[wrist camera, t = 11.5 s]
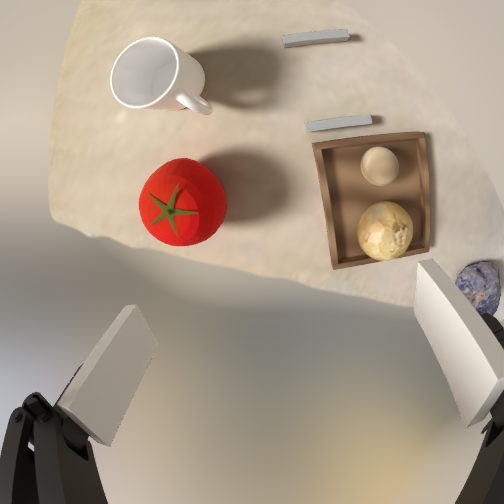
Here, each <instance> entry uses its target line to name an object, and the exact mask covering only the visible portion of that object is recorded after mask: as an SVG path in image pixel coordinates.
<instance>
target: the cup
mask: <svg viewBox="0 0 504 504" xmlns="http://www.w3.org/2000/svg"><path fill="white" fill-rule="evenodd" d="M204 84H205V74H204V71H203V68H202V66H201V65H200V64H199V62H198V61H197V60H195V59H194V58H193V57H191V56H190V55H188V54H187V53H186V52H184V51H183V50H181V49H180V48H178V47H177V46H175V45H174V44H172V43H171V42H169V41H167V40H166V39H163V38H160V37H147V38H143V39H140V40H137V41H135V42H134V43H132V44H130V45H129V46H128V47H127V48H125V49H124V50H123V51H122V53H121V54H120V55H119V56H118V58H117V60H116V61H115V63H114V66H113V68H112V72H111V89H112V92H113V94H114V96H115V97H116V99H117V100H118V101H119V102H120V103H121V104H123V105H125V106H127V107H130V108H138V109H153V110H165V111H176V110H181V109H184V108H186V107H188V108H190V109H191V110H193V111H196V112H198V113H200V114H204V115H209V114H211V113H212V111H213V109H212V107H211V105H210V104H209V103H208V102H207V101H206V100H204V99H203V98H202V97H201V96H200V94H201V92H202V90H203V88H204Z"/></svg>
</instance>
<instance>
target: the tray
mask: <svg viewBox="0 0 504 504" xmlns="http://www.w3.org/2000/svg"><path fill="white" fill-rule="evenodd" d="M312 146H313V151H314V156H315V161H316V166H317V171H318V177H319V182H320V188H321V194H322V200H323V206H324V212H325V219H326V226H327V233H328V240H329V248H330V256H331V264H332V267H333V270H336V269H342V268H347V267H353V266H358V265H364V264H369V263H375V262H380V261H381V260H377V259H374V258H371V257H370V256H368V255H367V254H366V253H365V252H364V251H363V250H362V248H361V246H360V244H359V241H358V235H357V230H358V225H359V221H360V219H361V216H362V215H363V213H364V212H365V211H366V210H367V209H368V208H369V207H370V206H371V205H373V204H376V203H378V202H382V201H388V202H394V203H396V204H398V205H400V206H401V207H402V208H404V209H405V210H406V212H407V213H408V215H409V216H410V218H411V220H412V223H413V236H412V240H411V242H410V244H409V246H408V248H407V249H406V251H405V252H404V253H403V254H402V255H400V256H399V257H397V258H401V257H406V256H411V255H416V254H421V253H426V252H429V247H430V187H429V171H428V160H427V150H426V142H425V134H424V132H404V133H391V134H380V135H370V136H360V137H352V138H344V139H337V140H330V141H323V142H317V143H312ZM373 147H384V148H387V149H389V150H390V151H391V152H392V153H393V154H394V155H395V156H396V158H397V160H398V163H399V172H398V175H397V177H396V179H395V180H394V181H393V182H392V183H391V184H389V185H386V186H376V185H374V184H372V183H370V182H369V181H368V180H366V178H365V177H364V176H363V173H362V171H361V159H362V157H363V155H364V153H365V152H366V151H367V150H369V149H370V148H373ZM395 259H396V258H395Z"/></svg>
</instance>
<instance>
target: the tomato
mask: <svg viewBox="0 0 504 504" xmlns="http://www.w3.org/2000/svg"><path fill="white" fill-rule="evenodd" d="M226 207H227V203H226V195H225V191H224V189H223V187H222V184H221V183H220V181H219V180H218V178H217V177H216V176H215V175H214V174H213V173H212V172H211V171H210V170H209V169H208V168H207V167H205V166H204V165H202V164H201V163H199V162H197V161H195V160H191V159H188V158H180V159H174V160H172V161H169V162H167V163H165V164H164V165H162V166H161V167H160V168H158V169H157V170H156V171H155V172H154V173H153V174H152V175H151V176H150V177H149V179H148V180H147V182H146V183H145V185H144V187H143V189H142V191H141V194H140V198H139V210H140V215H141V218H142V221H143V223H144V225H145V227H146V228H147V230H148V231H149V232H150V233H151V234H152V235H153V236H154V237H155V238H157V239H158V240H160V241H162V242H163V243H165V244H169V245H172V246H189V245H194V244H197V243H200V242H203V241H205V240H207V239H208V238H210V237H211V236H212V235H213V234H214V233H215V232H216V231H217V229H218V228H219V227H220V225H221V224H222V222H223V220H224V217H225V213H226Z"/></svg>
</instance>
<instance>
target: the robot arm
mask: <svg viewBox="0 0 504 504" xmlns="http://www.w3.org/2000/svg"><path fill="white" fill-rule="evenodd" d="M414 314H415V316H416V318H417V320H418V322H419V323H420V325H421V327H422V329H423V331H424V333H425V335H426V336H427V339H428V341H429V342H430V345H431V347H432V349H433V351H434V353H435V355H436V357H437V359H438V361H439V363H440V365H441V368H442V370H443V372H444V374H445V377H446V379H447V381H448V383H449V386H450V388H451V391H452V393H453V395H454V398H455V400H456V403H457V406H458V408H459V411H460V413H461V416H462V419H463V422H464V424H465V427H466V428H468V427H470V426H472V425H474V424H476V423H478V422H480V421H482V420H483V419H484V418H485V417H486V415H487V414H488V413H489V411H490V413H491V415H492V418H491V420H490V421H489V422H488V424H487V425H486V426H485V427H484V428H483V430H482V432H481V433H482V434H483V433H484V432H485V431H486V430H487V432H486V435H485V438H484V440H483V443H482V446H481V449H480V451H479V454H478V456H477V459H476V461H475V464H474V466H473V468H472V471H471V473H470V475H469V477H468V479H467V481H466V483H465V485H464V487H463V489H462V491H461V493H460V495H459V497H458V498H457V500H456V502H455V504H504V328H503V327H502V325H501V324H500V323H499V321H498V320H497V319H496V318H495V317H493V316H492V315H490V314H489V313H487V312H486V313H483V314H480V315H479V313H478V312H477V311H476V309H475V308H474V307H473V306H472V304H471V303H470V302H469V300H468V299H467V298H466V297H465V295H464V294H463V293H462V292H461V291H460V289H459V288H458V287H457V286H456V284H455V283H454V282H453V281H452V280H451V279H450V277H449V276H448V275H447V274H446V273H445V272H444V271H443V269H442V268H441V267H440V266H439V265H438V264H437V263H436V262H435V261H434V259H433V258H432V259H428V260H423V261H419V262H418V271H417V284H416V294H415V304H414ZM158 346H159V344H158V343H157V341H156V339H155V337H154V336H153V334H152V332H151V330H150V328H149V326H148V325H147V323H146V321H145V319H144V317H143V315H142V313H141V311H140V310H139V308H138V306H137V305H128V306H125V307H124V308H123V310H122V311H121V312H120V314H119V315H118V316H117V318H116V319H115V321H114V322H113V323H112V324H111V326H110V327H109V329H108V330H107V331H106V333H105V334H104V335H103V337H102V338H101V340H100V341H99V342H98V344H97V345H96V347H95V348H94V349H93V351H92V352H91V354H90V355H89V356H88V358H87V359H86V361H85V362H84V363H83V364H82V365H81V366H80V367H79V368H78V370H77V371H76V373H75V374H74V377H72V379H71V380H70V383H68V385H67V386H66V388H65V389H64V391H63V393H62V394H61V395H60V397H59V399H58V400H57V402H56V403H55V405H54V406H53V407H52V406H51V405H50V404H49V403H48V402H47V400H46V399H45V398H44V397H43V396H42V395H41V394H40V393H38V392H35V393H32V394H30V395H29V396H28V397H27V398H26V399H25V400H24V402H23V404H22V407H18V408H16V409H15V410H14V411H13V413H12V414H11V416H10V419H9V423H8V427H7V430H6V434H5V438H4V442H3V446H2V451H1V456H0V504H108V502H107V499H106V496H105V493H104V490H103V487H102V484H101V480H100V477H99V473H98V470H97V466H96V462H95V458H94V454H93V449H92V445H91V443H90V441H88V440H87V439H88V437H89V436H90V437H92V438H93V439H94V440H95V441H96V442H98V443H100V444H103V445H106V446H109V447H110V446H111V443H112V441H113V439H114V437H115V434H116V432H117V430H118V428H119V425H120V423H121V421H122V419H123V417H124V415H125V413H126V411H127V409H128V407H129V404H130V402H131V400H132V398H133V396H134V394H135V392H136V390H137V388H138V386H139V384H140V382H141V380H142V378H143V375H144V374H145V372H146V370H147V368H148V366H149V364H150V362H151V360H152V357H153V356H154V354H155V352H156V350H157V348H158ZM28 442H30V443H31V444H32V445H33V446H34V451H32V450H31V449H30V448H29V447H28Z"/></svg>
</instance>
